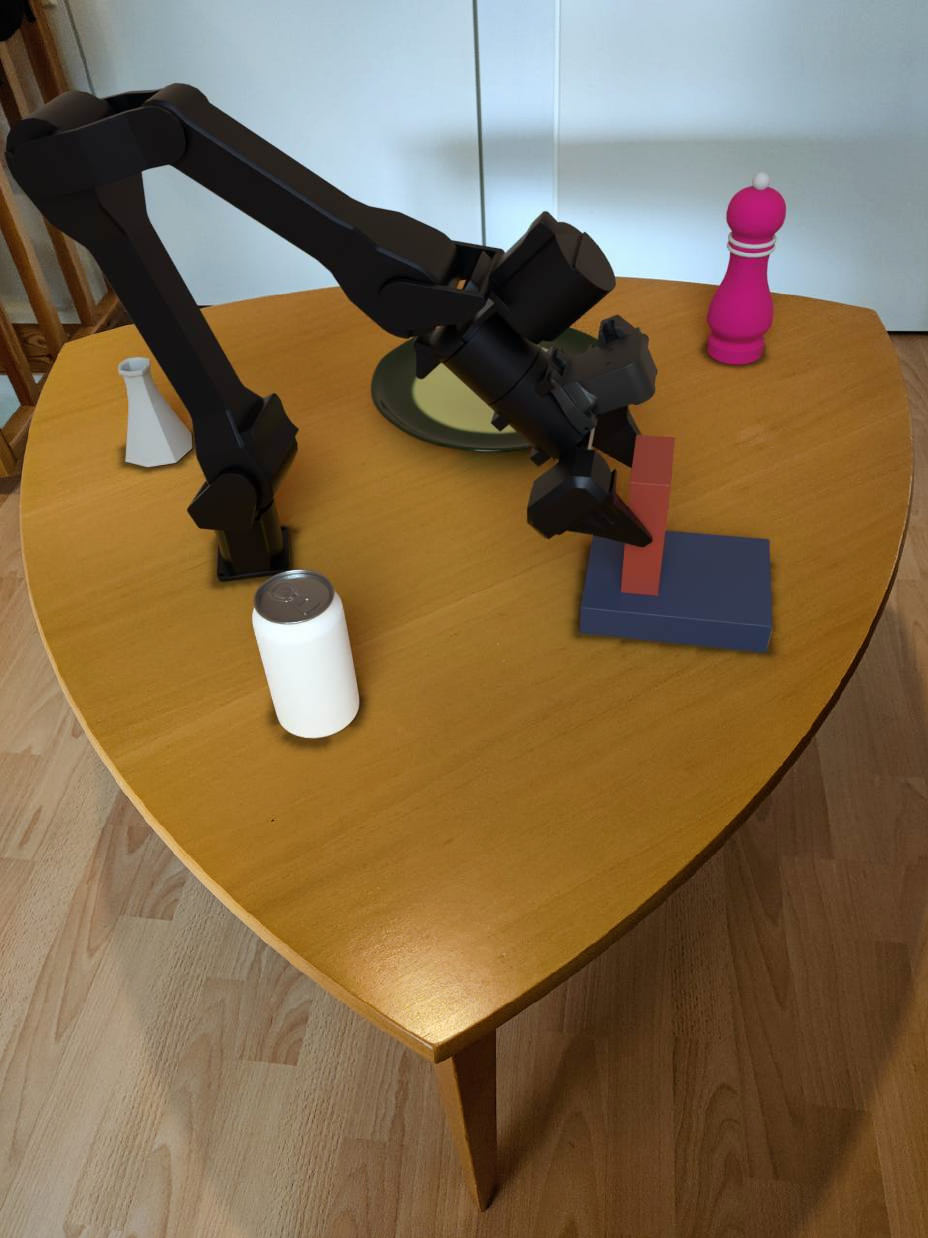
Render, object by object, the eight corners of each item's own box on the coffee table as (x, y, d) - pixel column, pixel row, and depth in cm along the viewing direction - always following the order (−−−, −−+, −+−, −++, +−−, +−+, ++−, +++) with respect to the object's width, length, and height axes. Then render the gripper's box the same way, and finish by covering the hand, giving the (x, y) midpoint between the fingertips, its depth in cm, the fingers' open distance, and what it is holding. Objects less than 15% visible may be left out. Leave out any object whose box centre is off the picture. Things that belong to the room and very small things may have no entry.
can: (319, 667, 81) (295, 553, 73) (377, 703, 78) (359, 588, 69) (260, 715, 77) (227, 601, 69) (318, 755, 74) (292, 641, 66)
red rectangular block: (620, 592, 81) (629, 482, 74) (627, 542, 86) (636, 434, 79) (657, 596, 81) (670, 485, 73) (662, 545, 86) (674, 436, 78)
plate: (337, 454, 103) (334, 434, 101) (411, 327, 122) (409, 308, 121) (608, 482, 97) (609, 461, 96) (640, 344, 117) (642, 324, 115)
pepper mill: (689, 345, 116) (711, 168, 102) (741, 331, 118) (769, 154, 104) (726, 373, 111) (755, 190, 97) (779, 357, 113) (814, 176, 99)
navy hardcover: (579, 634, 82) (580, 607, 80) (593, 550, 90) (594, 524, 88) (766, 653, 80) (773, 626, 78) (764, 565, 88) (770, 538, 86)
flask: (202, 431, 107) (180, 346, 101) (182, 470, 102) (157, 383, 95) (138, 430, 108) (111, 345, 101) (114, 468, 103) (85, 382, 96)
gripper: (577, 374, 62) (735, 529, 68) (606, 248, 75) (736, 386, 81) (460, 469, 69) (612, 603, 74) (505, 339, 82) (631, 461, 87)
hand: (652, 506), depth 79 cm, fingers open, 9 cm apart
